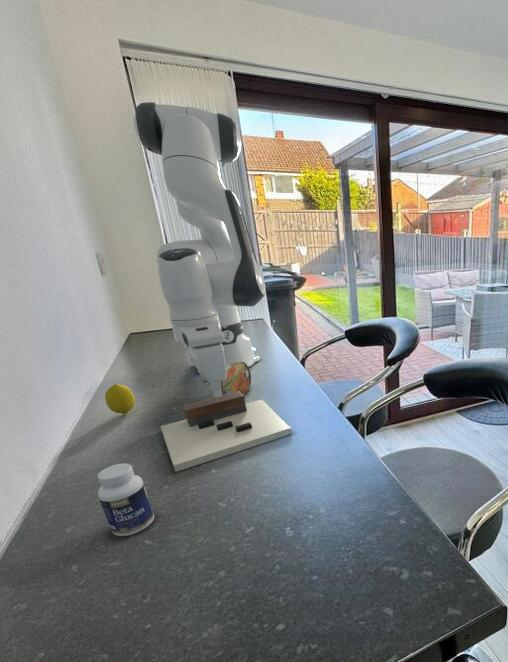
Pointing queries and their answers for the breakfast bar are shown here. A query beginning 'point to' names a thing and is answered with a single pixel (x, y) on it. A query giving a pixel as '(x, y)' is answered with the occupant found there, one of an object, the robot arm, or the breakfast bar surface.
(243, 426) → the stroke
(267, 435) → the memo board
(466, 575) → the breakfast bar surface
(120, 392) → the lemon
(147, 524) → the pill bottle
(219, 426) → the stroke
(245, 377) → the tin
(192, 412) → the eraser
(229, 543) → the breakfast bar surface
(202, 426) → the stroke
